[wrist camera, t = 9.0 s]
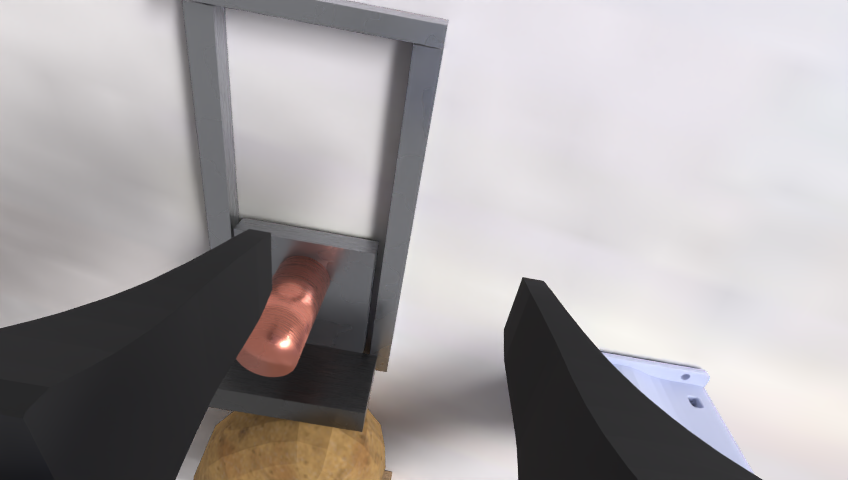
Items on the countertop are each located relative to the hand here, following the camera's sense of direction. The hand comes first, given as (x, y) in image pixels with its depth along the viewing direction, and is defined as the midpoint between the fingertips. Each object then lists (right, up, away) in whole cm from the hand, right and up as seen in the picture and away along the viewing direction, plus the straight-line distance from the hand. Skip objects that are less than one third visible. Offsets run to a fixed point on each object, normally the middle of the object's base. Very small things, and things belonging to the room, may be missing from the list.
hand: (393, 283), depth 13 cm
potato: (-8, -10, +19) cm, 23 cm away
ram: (-6, -2, +13) cm, 14 cm away
